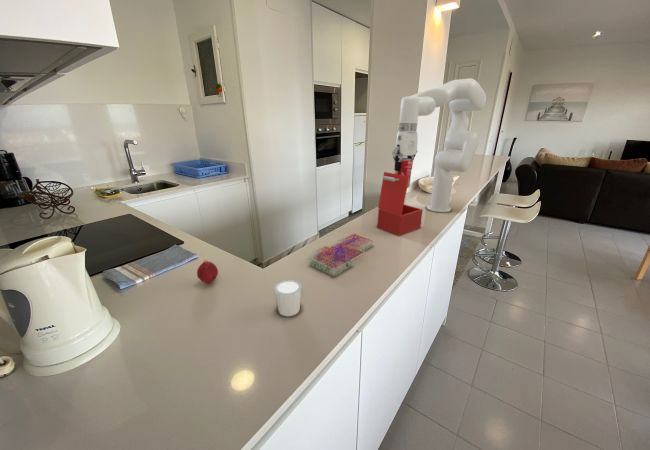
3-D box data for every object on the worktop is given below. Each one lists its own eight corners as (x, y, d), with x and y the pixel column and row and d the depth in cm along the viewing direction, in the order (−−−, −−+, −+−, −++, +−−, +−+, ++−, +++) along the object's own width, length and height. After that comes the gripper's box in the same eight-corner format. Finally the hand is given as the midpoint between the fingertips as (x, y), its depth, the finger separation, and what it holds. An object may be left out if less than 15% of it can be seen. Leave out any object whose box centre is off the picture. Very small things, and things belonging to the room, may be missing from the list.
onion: (223, 279, 87) (219, 257, 84) (210, 289, 82) (206, 265, 79) (208, 276, 89) (204, 254, 86) (194, 285, 84) (190, 262, 81)
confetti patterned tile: (352, 237, 118) (352, 226, 116) (382, 248, 108) (383, 236, 106) (299, 262, 97) (299, 249, 95) (331, 278, 88) (331, 264, 86)
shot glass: (291, 321, 69) (290, 298, 67) (270, 311, 73) (268, 289, 70) (307, 306, 75) (306, 284, 72) (287, 298, 78) (286, 276, 75)
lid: (385, 172, 121) (377, 171, 118) (409, 176, 112) (401, 176, 109) (379, 208, 126) (371, 208, 123) (401, 215, 117) (393, 216, 113)
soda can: (407, 185, 130) (411, 157, 126) (410, 189, 124) (414, 160, 119) (392, 185, 131) (395, 157, 126) (394, 189, 124) (397, 159, 120)
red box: (398, 220, 138) (400, 203, 135) (420, 227, 129) (422, 209, 125) (377, 227, 129) (378, 209, 126) (398, 235, 120) (401, 216, 117)
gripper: (401, 128, 110) (397, 173, 117) (427, 128, 120) (421, 169, 127) (387, 128, 116) (383, 170, 122) (412, 127, 126) (408, 167, 132)
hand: (403, 169), depth 124 cm, fingers closed on soda can, 7 cm apart
